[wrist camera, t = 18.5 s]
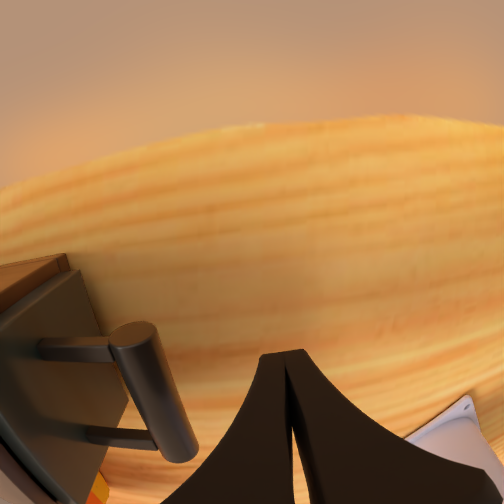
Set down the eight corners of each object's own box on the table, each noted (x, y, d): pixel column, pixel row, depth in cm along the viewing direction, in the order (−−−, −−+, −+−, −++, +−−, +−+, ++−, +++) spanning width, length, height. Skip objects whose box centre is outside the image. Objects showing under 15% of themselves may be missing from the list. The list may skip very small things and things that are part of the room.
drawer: (177, 254, 11) (96, 369, 4) (214, 398, 13) (198, 529, 6) (-55, 289, 11) (-123, 334, 5) (-15, 381, 13) (-65, 438, 7)
